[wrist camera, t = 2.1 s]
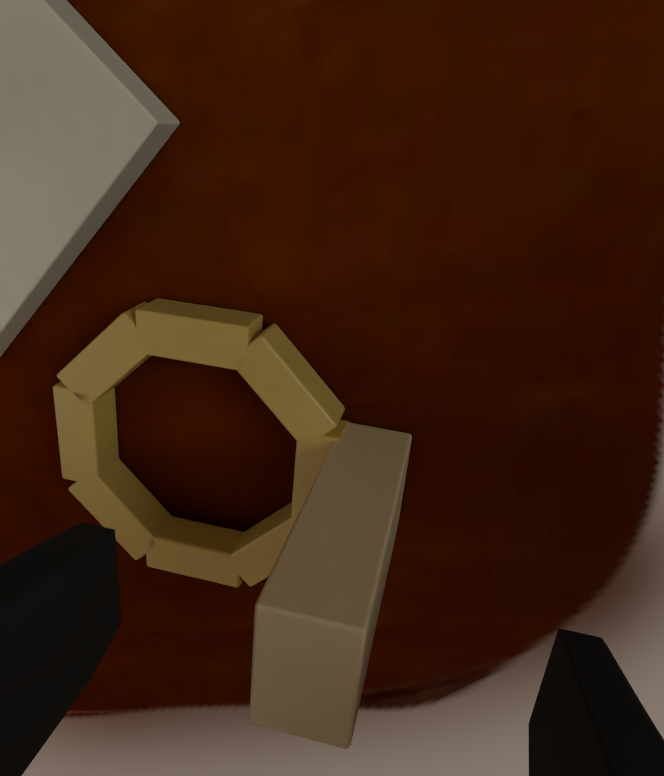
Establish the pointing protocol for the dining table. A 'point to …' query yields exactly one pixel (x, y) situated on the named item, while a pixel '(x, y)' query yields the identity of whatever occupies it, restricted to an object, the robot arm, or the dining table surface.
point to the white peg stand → (62, 146)
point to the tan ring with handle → (273, 534)
